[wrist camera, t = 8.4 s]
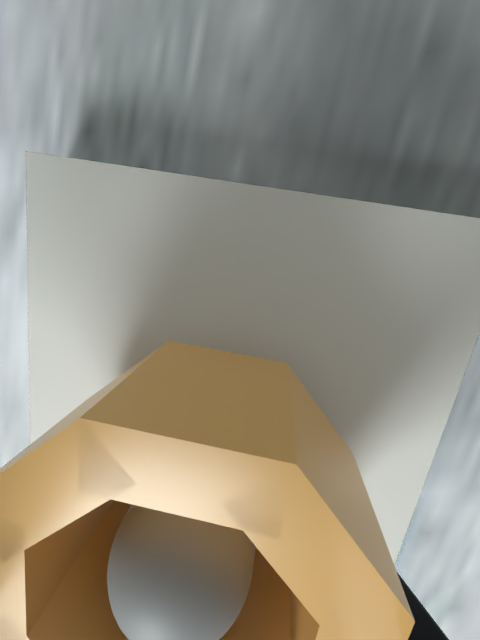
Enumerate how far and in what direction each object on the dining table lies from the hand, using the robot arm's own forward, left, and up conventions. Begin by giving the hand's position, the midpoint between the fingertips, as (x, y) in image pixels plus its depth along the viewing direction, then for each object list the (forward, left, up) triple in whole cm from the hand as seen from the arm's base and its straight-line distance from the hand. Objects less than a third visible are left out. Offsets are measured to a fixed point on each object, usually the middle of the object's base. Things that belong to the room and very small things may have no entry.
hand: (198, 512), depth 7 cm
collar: (0, 0, -1) cm, 1 cm away
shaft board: (0, 0, -4) cm, 4 cm away
